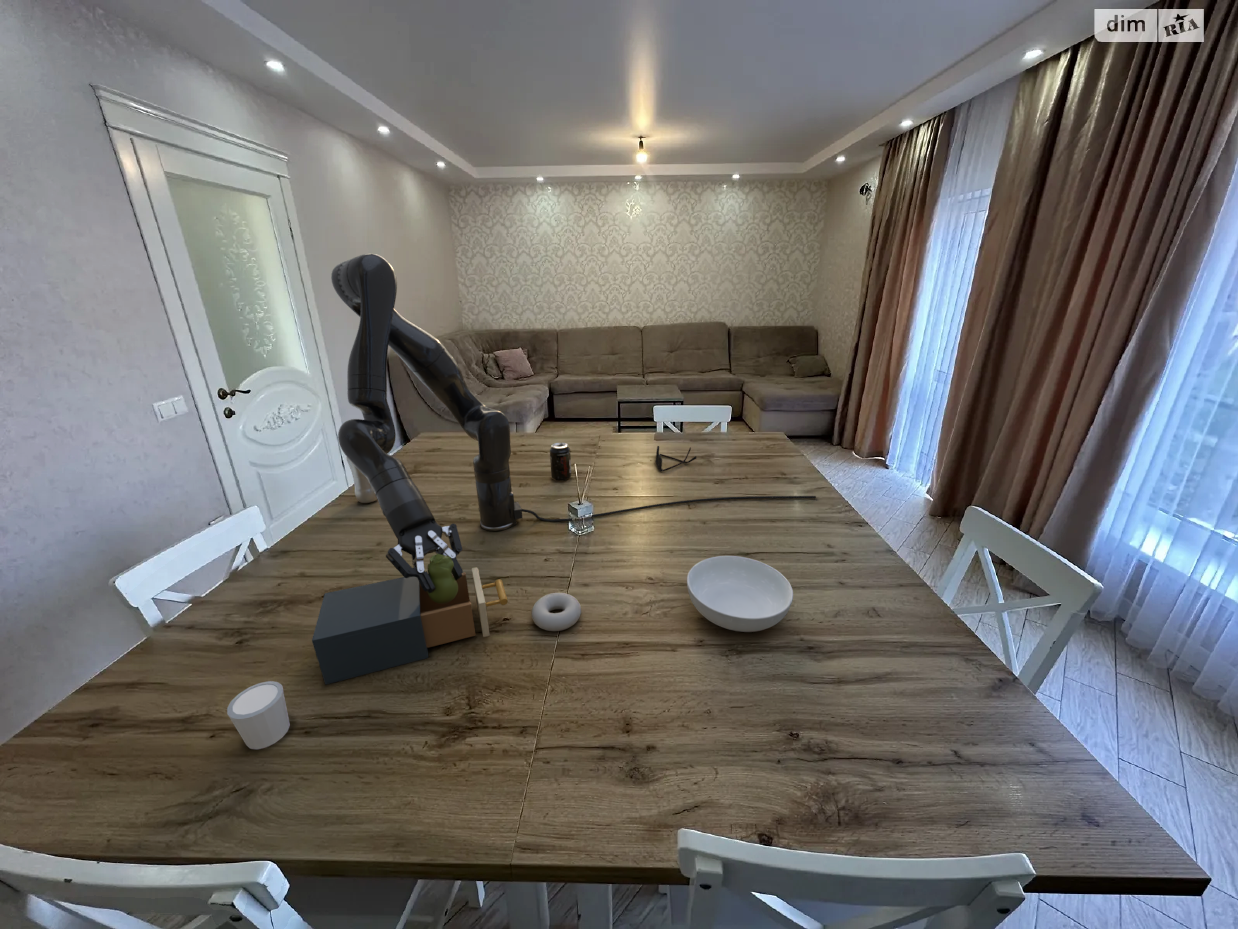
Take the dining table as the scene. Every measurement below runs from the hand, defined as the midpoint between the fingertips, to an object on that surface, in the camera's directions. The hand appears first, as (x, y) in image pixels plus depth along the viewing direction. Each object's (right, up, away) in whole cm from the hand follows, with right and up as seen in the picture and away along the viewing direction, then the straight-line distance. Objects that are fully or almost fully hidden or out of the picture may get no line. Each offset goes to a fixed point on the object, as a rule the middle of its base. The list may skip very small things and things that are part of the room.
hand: (446, 584), depth 90 cm
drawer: (0, -9, +5) cm, 11 cm away
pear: (-1, -4, +3) cm, 5 cm away
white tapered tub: (-21, -19, -16) cm, 33 cm away
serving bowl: (+57, -8, +10) cm, 58 cm away
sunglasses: (+53, +22, +86) cm, 104 cm away
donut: (+20, -9, +8) cm, 23 cm away
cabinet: (-13, -12, +1) cm, 17 cm away
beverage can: (+13, +17, +74) cm, 78 cm away
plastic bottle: (-45, +11, +59) cm, 75 cm away
